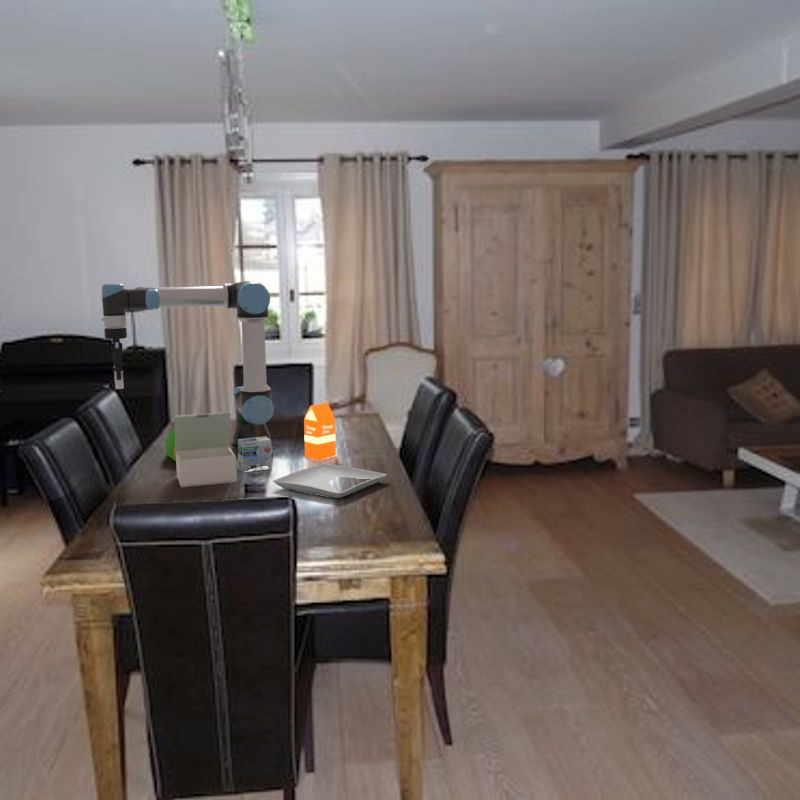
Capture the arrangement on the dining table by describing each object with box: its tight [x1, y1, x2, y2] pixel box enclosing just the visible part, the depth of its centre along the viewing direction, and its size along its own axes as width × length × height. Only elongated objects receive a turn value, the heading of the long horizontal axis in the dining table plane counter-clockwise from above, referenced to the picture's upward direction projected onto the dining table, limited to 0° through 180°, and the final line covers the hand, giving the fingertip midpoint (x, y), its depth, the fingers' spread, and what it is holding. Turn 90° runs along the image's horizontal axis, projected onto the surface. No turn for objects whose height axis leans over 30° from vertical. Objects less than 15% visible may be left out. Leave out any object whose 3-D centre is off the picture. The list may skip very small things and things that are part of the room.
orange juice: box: [303, 402, 337, 461], centre depth 302 cm, size 8×9×20 cm
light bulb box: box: [237, 436, 273, 473], centre depth 286 cm, size 11×7×11 cm, turn 118°
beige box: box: [175, 446, 237, 489], centre depth 272 cm, size 18×14×9 cm
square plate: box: [272, 463, 388, 499], centre depth 264 cm, size 27×27×4 cm
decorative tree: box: [165, 428, 196, 462], centre depth 304 cm, size 11×12×30 cm
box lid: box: [174, 411, 231, 451], centre depth 274 cm, size 18×14×1 cm
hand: (119, 386), depth 293 cm, fingers open, 13 cm apart
